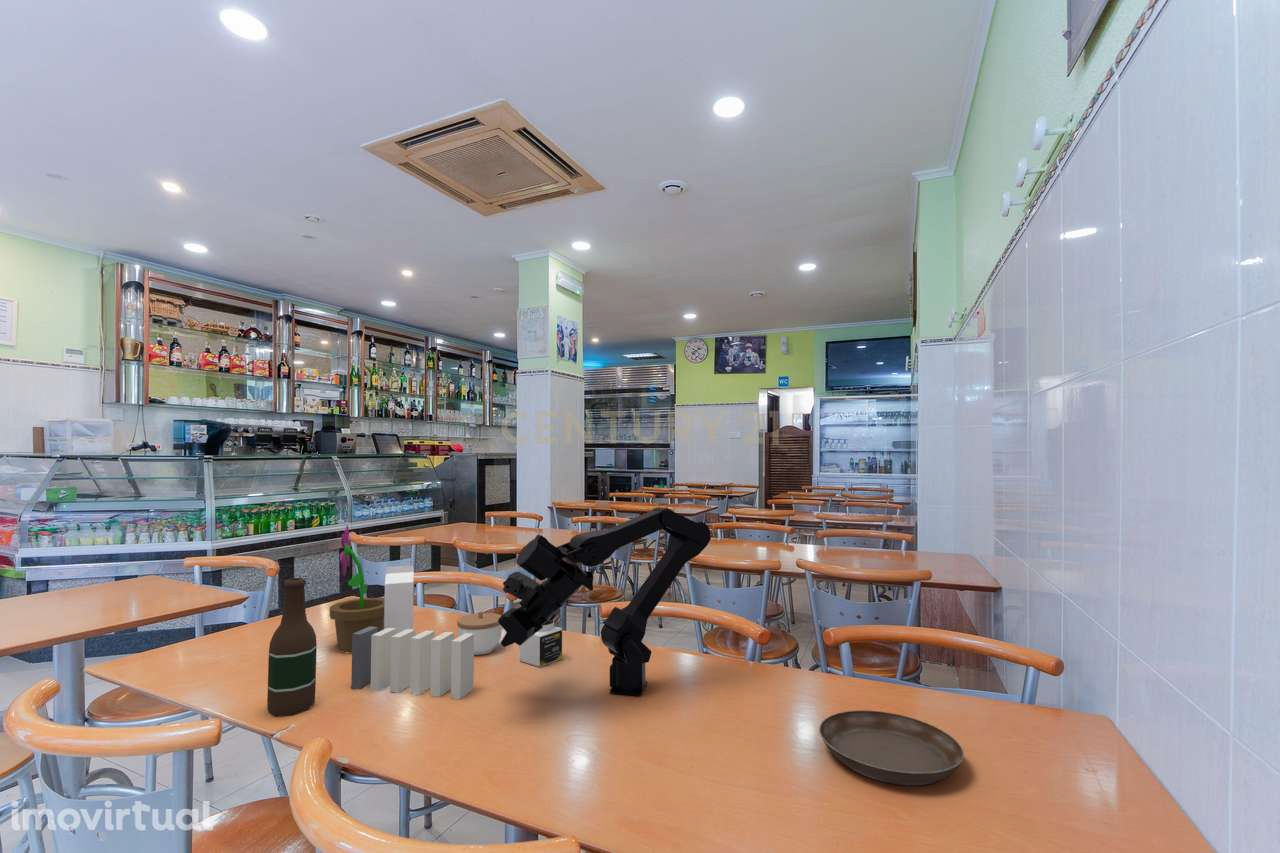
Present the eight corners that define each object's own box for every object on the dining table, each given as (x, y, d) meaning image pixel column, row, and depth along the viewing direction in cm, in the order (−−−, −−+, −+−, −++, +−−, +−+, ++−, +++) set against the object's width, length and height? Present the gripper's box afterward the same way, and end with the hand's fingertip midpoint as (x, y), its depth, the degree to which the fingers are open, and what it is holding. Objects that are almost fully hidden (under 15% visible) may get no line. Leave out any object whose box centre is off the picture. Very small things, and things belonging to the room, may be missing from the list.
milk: (384, 661, 134) (386, 565, 135) (412, 658, 136) (413, 563, 137) (383, 670, 128) (384, 569, 130) (412, 666, 130) (413, 567, 132)
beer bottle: (293, 719, 104) (296, 584, 106) (256, 715, 106) (260, 582, 107) (324, 701, 112) (327, 575, 113) (290, 698, 114) (293, 574, 115)
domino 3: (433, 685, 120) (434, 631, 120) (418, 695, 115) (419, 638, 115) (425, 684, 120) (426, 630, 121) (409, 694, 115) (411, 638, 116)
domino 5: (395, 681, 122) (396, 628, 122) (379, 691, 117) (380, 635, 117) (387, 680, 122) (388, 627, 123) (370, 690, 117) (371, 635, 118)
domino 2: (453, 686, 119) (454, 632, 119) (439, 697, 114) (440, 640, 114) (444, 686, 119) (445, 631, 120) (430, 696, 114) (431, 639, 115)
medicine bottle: (540, 668, 129) (540, 613, 130) (518, 661, 134) (518, 608, 134) (562, 659, 135) (562, 606, 136) (541, 652, 139) (541, 602, 140)
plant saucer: (846, 716, 105) (846, 697, 105) (976, 753, 92) (975, 732, 92) (798, 763, 89) (797, 741, 89) (947, 816, 76) (946, 790, 76)
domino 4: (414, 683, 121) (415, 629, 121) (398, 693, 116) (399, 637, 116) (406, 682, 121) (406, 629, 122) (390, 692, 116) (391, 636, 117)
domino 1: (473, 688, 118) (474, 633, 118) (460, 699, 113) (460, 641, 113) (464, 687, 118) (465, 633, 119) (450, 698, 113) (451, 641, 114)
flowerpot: (334, 640, 149) (337, 523, 151) (394, 635, 154) (396, 521, 155) (322, 658, 136) (325, 529, 137) (388, 652, 140) (390, 527, 142)
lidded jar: (454, 647, 144) (454, 609, 144) (497, 641, 148) (498, 604, 149) (460, 661, 134) (460, 620, 134) (506, 654, 138) (507, 614, 139)
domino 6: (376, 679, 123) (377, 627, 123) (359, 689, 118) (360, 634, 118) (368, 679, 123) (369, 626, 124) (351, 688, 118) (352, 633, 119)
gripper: (546, 551, 123) (497, 602, 124) (509, 568, 104) (452, 627, 106) (581, 591, 121) (531, 641, 122) (550, 615, 102) (491, 674, 104)
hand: (502, 644), depth 114 cm, fingers closed
